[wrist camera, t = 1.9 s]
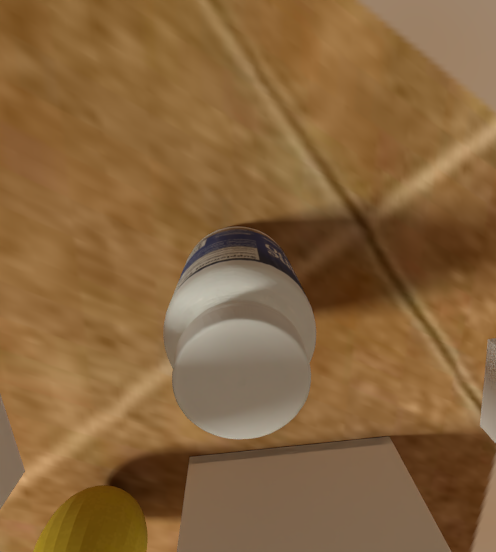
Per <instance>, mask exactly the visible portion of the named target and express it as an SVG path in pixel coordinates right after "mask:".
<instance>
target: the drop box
mask: <svg viewBox="0 0 496 552" xmlns="http://www.w3.org/2000/svg"><path fill="white" fill-rule="evenodd" d="M177 552H451V550H450V548H449V546H448V544H447V543H446V541H445V539H444V537H443V535H442V533H441V531H440V530H439V528H438V526H437V524H436V522H435V520H434V518H433V517H432V515H431V513H430V511H429V509H428V507H427V505H426V503H425V502H424V500H423V498H422V496H421V494H420V492H419V490H418V489H417V487H416V485H415V483H414V481H413V479H412V477H411V476H410V474H409V472H408V470H407V468H406V466H405V464H404V463H403V461H402V459H401V457H400V455H399V453H398V451H397V450H396V448H395V446H394V444H393V442H392V440H391V438H390V437H389V436H388V437H378V438H368V439H358V440H349V441H339V442H329V443H320V444H310V445H300V446H290V447H281V448H271V449H261V450H252V451H242V452H232V453H222V454H213V455H203V456H193V457H190V458H189V466H188V473H187V480H186V488H185V495H184V503H183V510H182V517H181V525H180V532H179V539H178V547H177Z"/></svg>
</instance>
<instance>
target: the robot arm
mask: <svg viewBox="0 0 496 552" xmlns="http://www.w3.org/2000/svg"><path fill="white" fill-rule="evenodd" d="M480 426H481V428H482V429H483V430H484V431H485V432H486V433H487V434H488V435H489V437H490V438H491V439H492V440H493V441H494V442H495V443H496V338H495V339H488V346H487V356H486V367H485V378H484V388H483V399H482V409H481V420H480ZM24 472H25V470H24V467H23V463H22V460H21V457H20V454H19V451H18V448H17V445H16V442H15V438H14V435H13V432H12V429H11V426H10V423H9V420H8V417H7V413H6V410H5V407H4V404H3V401H2V398H1V395H0V509H1V507H2V506H3V504H4V502H5V501H6V499H7V498H8V496H9V495H10V493H11V492H12V490H13V489H14V487H15V486H16V484H17V483H18V481H19V480H20V478H21V477H22V475H23V473H24Z"/></svg>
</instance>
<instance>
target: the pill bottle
mask: <svg viewBox="0 0 496 552" xmlns="http://www.w3.org/2000/svg"><path fill="white" fill-rule="evenodd" d="M315 343H316V325H315V319H314V314H313V311H312V307H311V305H310V303H309V300H308V298H307V296H306V294H305V293H304V291H303V289H302V287H301V285H300V283H299V280H298V278H297V276H296V274H295V272H294V270H293V268H292V266H291V264H290V262H289V261H288V259H287V257H286V255H285V254H284V252H283V250H282V249H281V248H280V246H279V245H278V244H277V243H276V242H275V241H274V240H273V239H272V238H271V237H269V236H268V235H267V234H265V233H263V232H261V231H259V230H256V229H253V228H248V227H239V226H235V227H227V228H223V229H219V230H217V231H215V232H213V233H211V234H209V235H207V236H206V237H205V238H203V239H202V240H201V241H200V242H199V243H198V244H197V245H196V246H195V248H194V249H193V251H192V252H191V254H190V256H189V258H188V260H187V262H186V265H185V267H184V269H183V272H182V274H181V277H180V279H179V282H178V284H177V287H176V289H175V292H174V295H173V297H172V300H171V302H170V304H169V307H168V309H167V312H166V317H165V322H164V345H165V349H166V353H167V356H168V359H169V361H170V364H171V366H172V368H173V373H172V383H173V391H174V395H175V398H176V401H177V403H178V405H179V407H180V408H181V410H182V411H183V413H184V414H185V415H186V416H187V418H188V419H189V420H191V421H192V422H193V423H194V424H195V425H197V426H198V427H200V428H201V429H203V430H204V431H207V432H208V433H211V434H213V435H217V436H219V437H224V438H229V439H250V438H257V437H261V436H264V435H267V434H270V433H273V432H274V431H276V430H278V429H280V428H281V427H283V426H284V425H286V424H287V423H288V422H290V421H291V420H292V419H293V418H294V417H295V416H296V415H297V413H298V412H299V411H300V409H301V408H302V407H303V405H304V403H305V402H306V399H307V397H308V393H309V389H310V383H311V370H310V364H309V363H310V361H311V358H312V356H313V352H314V349H315Z"/></svg>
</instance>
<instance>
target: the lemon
mask: <svg viewBox="0 0 496 552" xmlns="http://www.w3.org/2000/svg"><path fill="white" fill-rule="evenodd" d="M146 550H147V527H146V522H145V517H144V514H143V512H142V510H141V508H140V506H139V504H138V502H137V501H136V500H135V499H134V498H133V497H132V496H131V495H130V494H129V493H127V492H126V491H124V490H123V489H120V488H117V487H114V486H108V485H104V486H95V487H90V488H87V489H85V490H83V491H81V492H78V493H76V494H75V495H73V496H72V497H70V498H69V499H68V500H67V501H66V502H65V503H64V504H62V505H61V506H60V507H59V508H58V509H57V511H56V512H55V513H54V514H53V516H52V517H51V519H50V520H49V522H48V523H47V525H46V526H45V528H44V530H43V531H42V533H41V535H40V537H39V539H38V541H37V543H36V545H35V548H34V551H33V552H146Z"/></svg>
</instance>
